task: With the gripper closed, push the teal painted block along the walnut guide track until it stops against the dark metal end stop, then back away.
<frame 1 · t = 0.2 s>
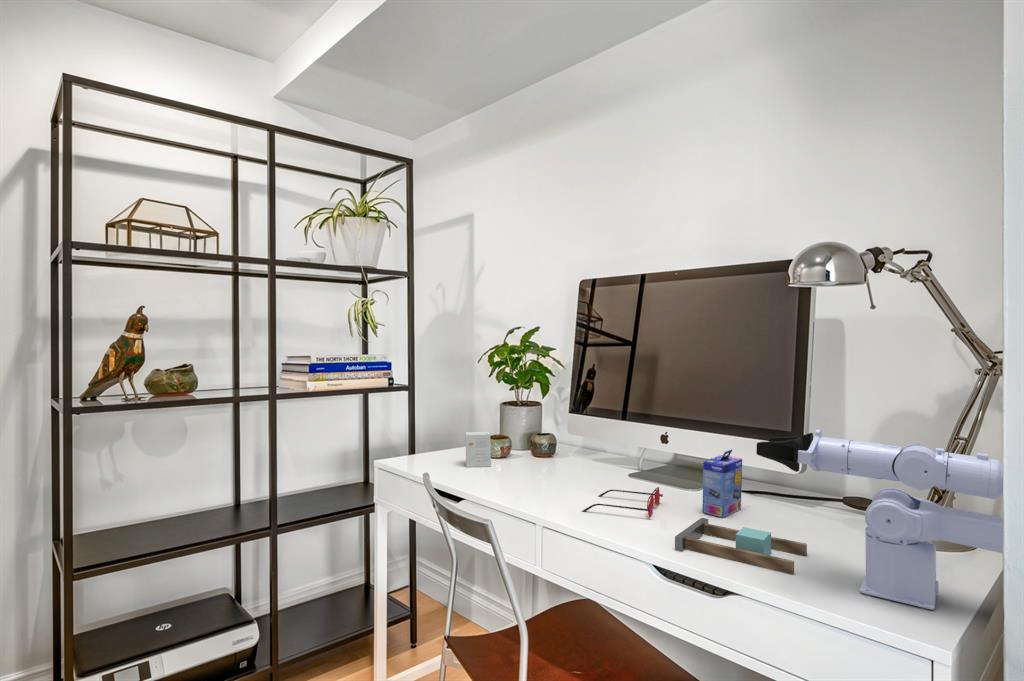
hand: (763, 446, 102), 21 cm above the table, tool horizontal, fingers open, 7 cm apart
ink cartridge box: (722, 512, 131), on the table
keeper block: (753, 554, 106), on the table
end stop: (692, 539, 113), on the table
small box: (478, 465, 181), on the table
guide track: (745, 551, 107), on the table
glasses: (623, 510, 135), on the table
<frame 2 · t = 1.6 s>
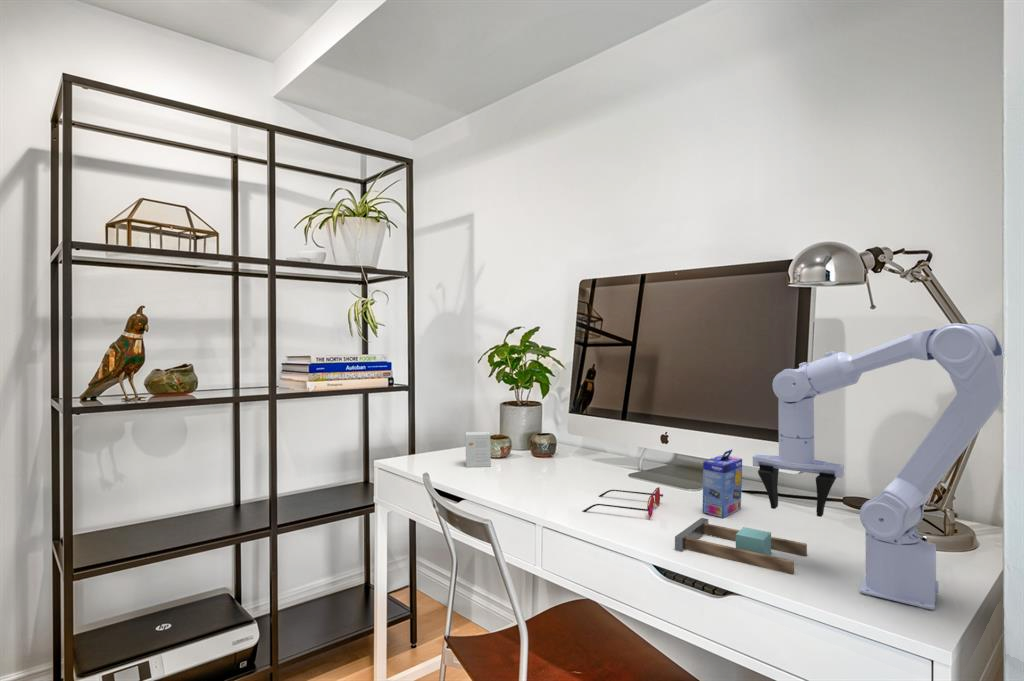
hand: (796, 511, 101), 9 cm above the table, tool pointing down, fingers open, 7 cm apart
nothing on the table moved.
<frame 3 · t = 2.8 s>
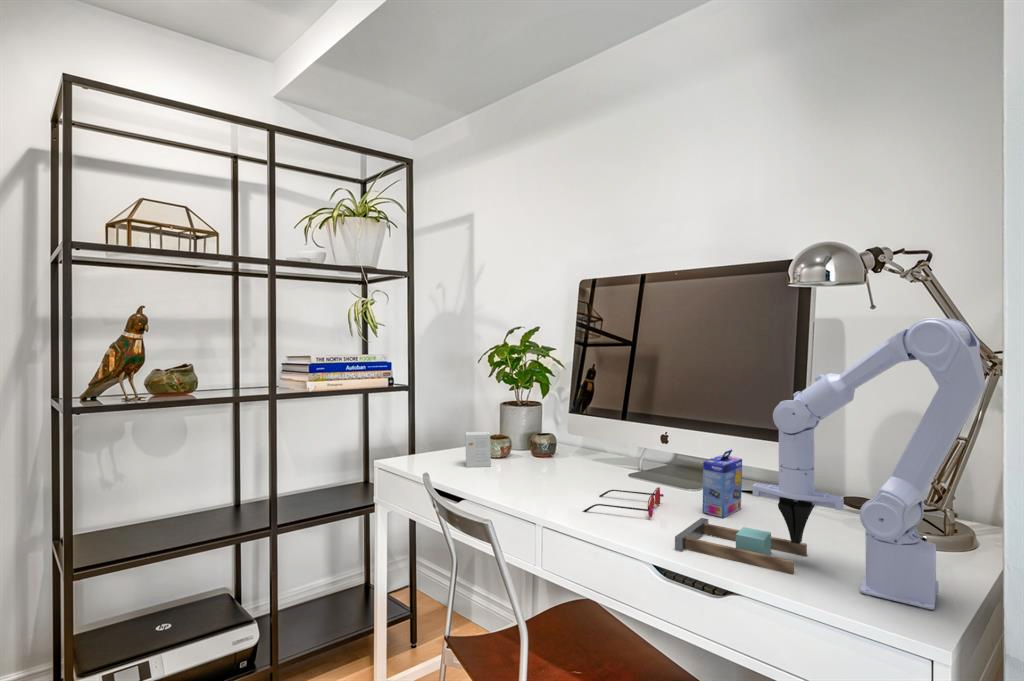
hand: (796, 541, 101), 4 cm above the table, tool pointing down, fingers closed
nothing on the table moved.
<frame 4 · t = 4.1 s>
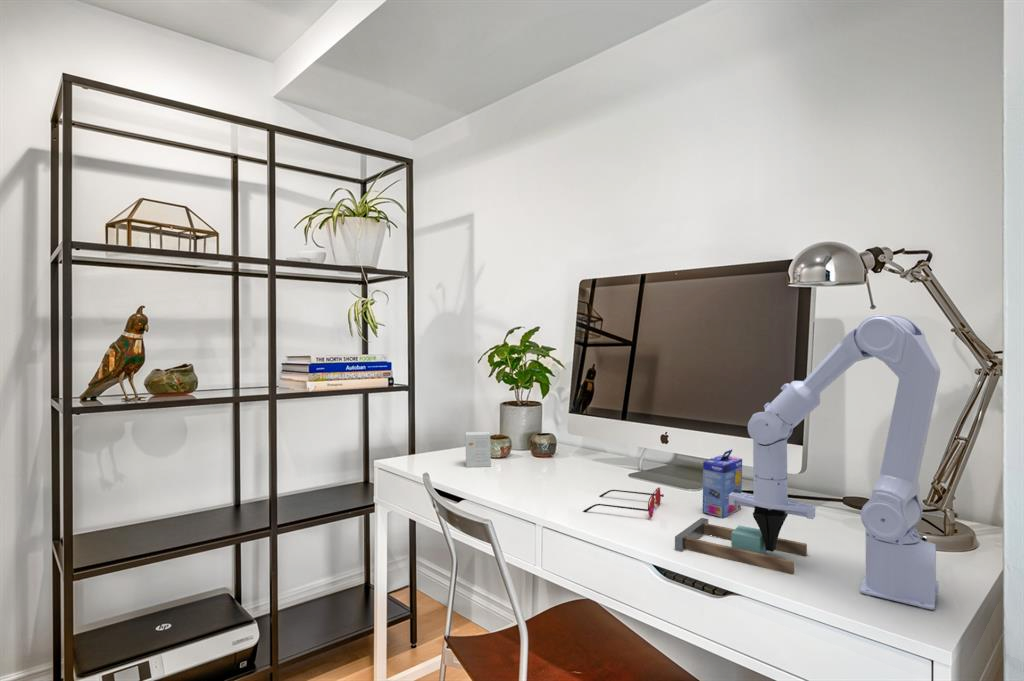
hand: (770, 549, 104), 1 cm above the table, tool pointing down, fingers closed
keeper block: (749, 552, 106), on the table, touching gripper
everything else where it was.
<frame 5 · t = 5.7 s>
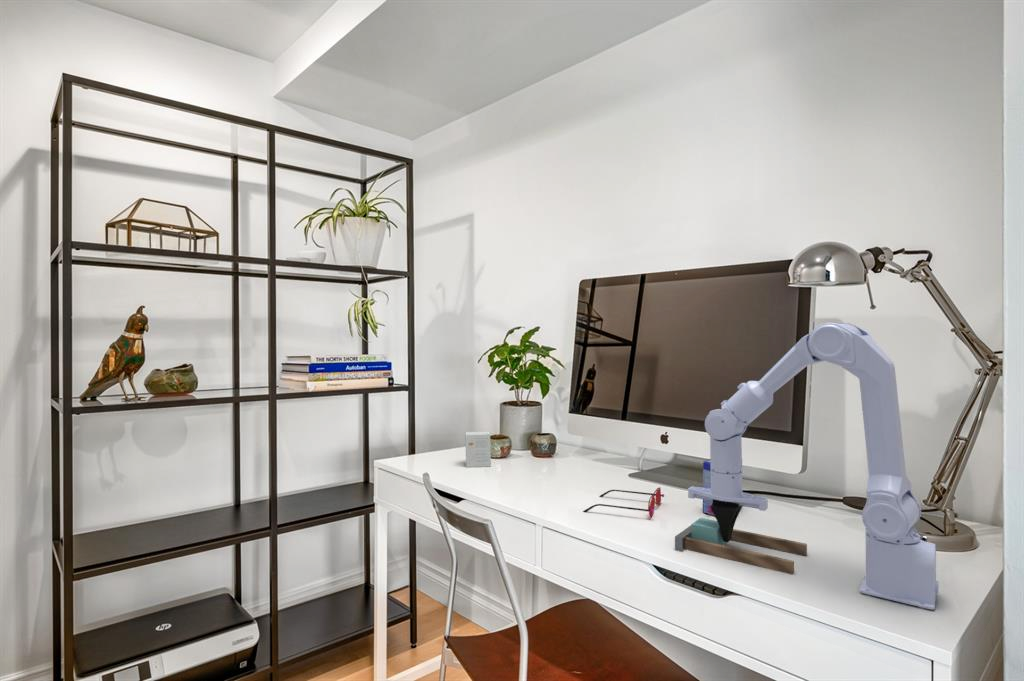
hand: (727, 540, 109), 1 cm above the table, tool pointing down, fingers closed
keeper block: (708, 543, 111), on the table, touching end stop, gripper
everything else where it was.
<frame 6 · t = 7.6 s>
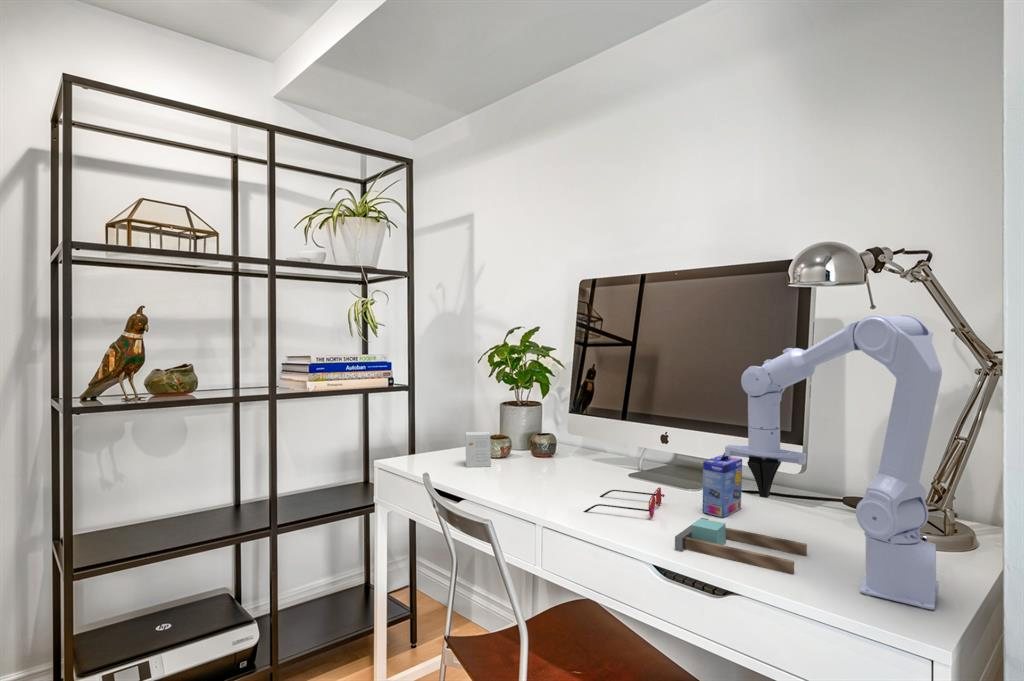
hand: (764, 496, 110), 9 cm above the table, tool pointing down, fingers closed
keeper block: (708, 544, 111), on the table
everything else where it was.
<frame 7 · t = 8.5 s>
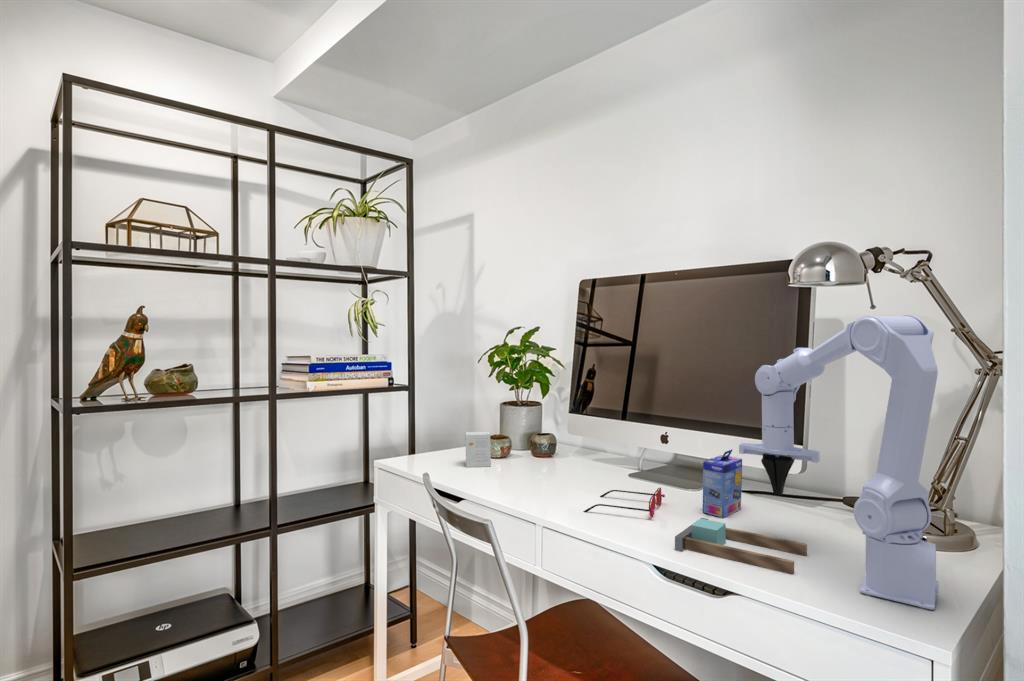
hand: (778, 493, 112), 9 cm above the table, tool pointing down, fingers closed
nothing on the table moved.
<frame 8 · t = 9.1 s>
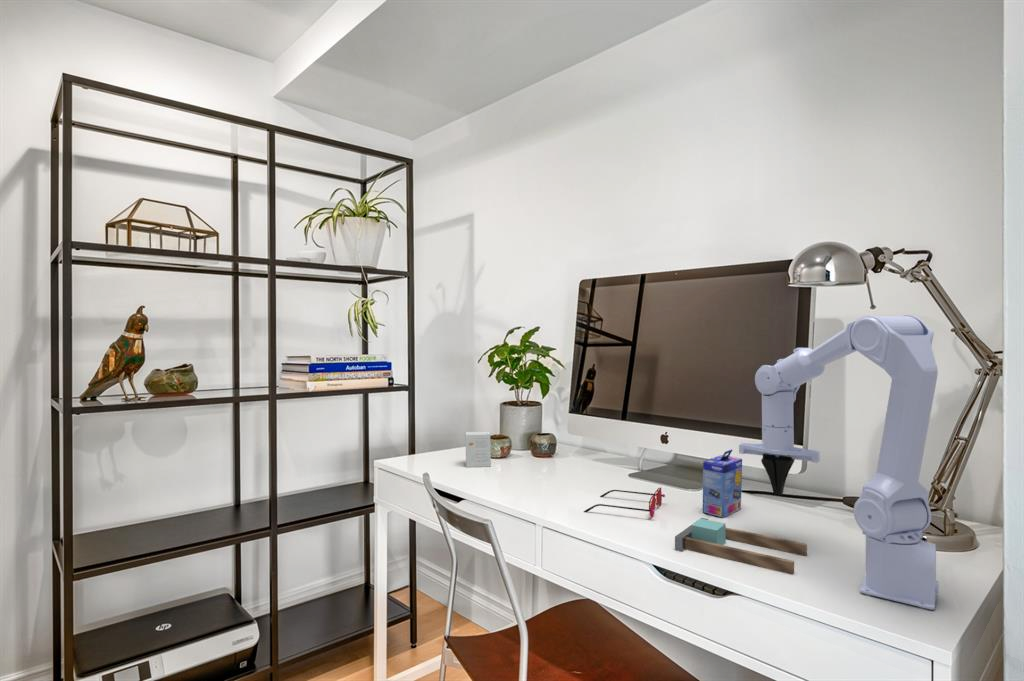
hand: (778, 493, 112), 9 cm above the table, tool pointing down, fingers closed
nothing on the table moved.
at the end: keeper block 0.0 cm from the target spot, on the table; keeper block tilted 0°; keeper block moved 8.5 cm from its start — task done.
